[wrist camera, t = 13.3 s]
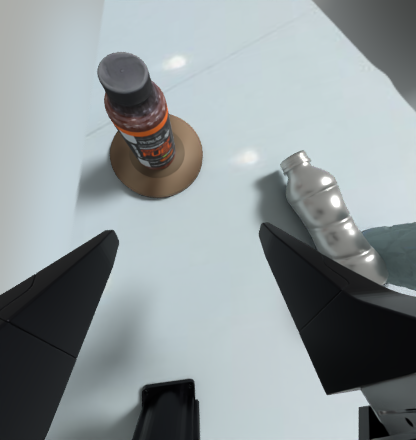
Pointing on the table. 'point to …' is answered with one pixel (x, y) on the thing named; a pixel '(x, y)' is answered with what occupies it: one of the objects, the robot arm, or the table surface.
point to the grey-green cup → (396, 252)
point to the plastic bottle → (329, 218)
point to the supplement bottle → (137, 109)
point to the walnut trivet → (162, 178)
